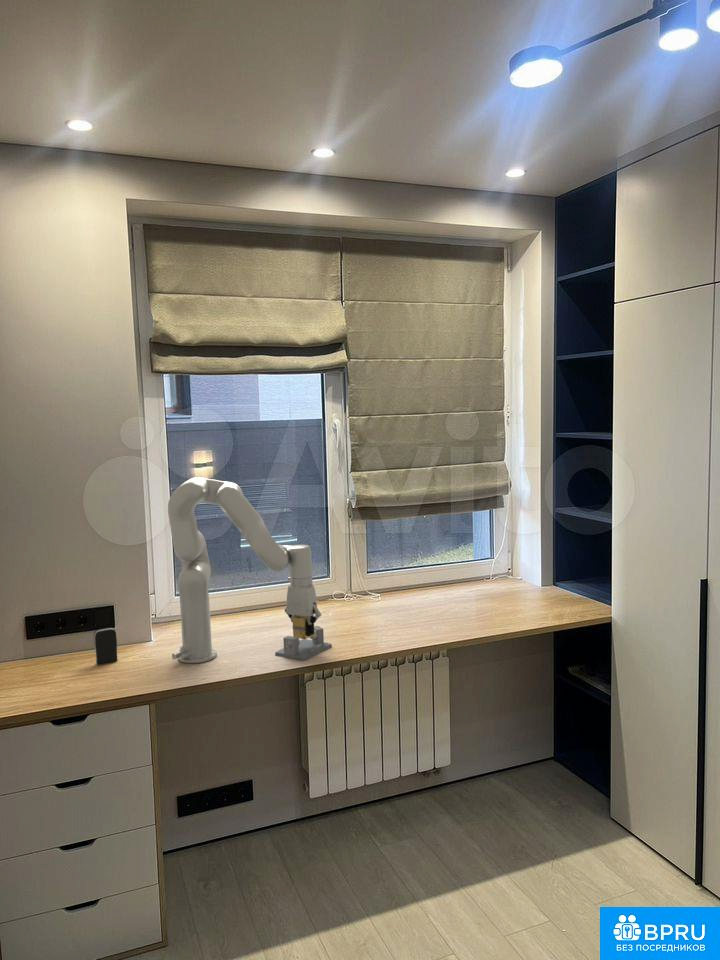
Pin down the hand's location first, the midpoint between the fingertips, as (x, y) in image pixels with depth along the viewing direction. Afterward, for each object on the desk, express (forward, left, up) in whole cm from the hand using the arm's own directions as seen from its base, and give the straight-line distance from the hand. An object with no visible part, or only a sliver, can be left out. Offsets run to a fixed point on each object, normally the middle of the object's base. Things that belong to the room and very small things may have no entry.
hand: (303, 633), depth 241 cm
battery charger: (-40, +52, -6) cm, 66 cm away
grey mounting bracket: (0, 0, -6) cm, 6 cm away
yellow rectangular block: (0, 0, -1) cm, 1 cm away
